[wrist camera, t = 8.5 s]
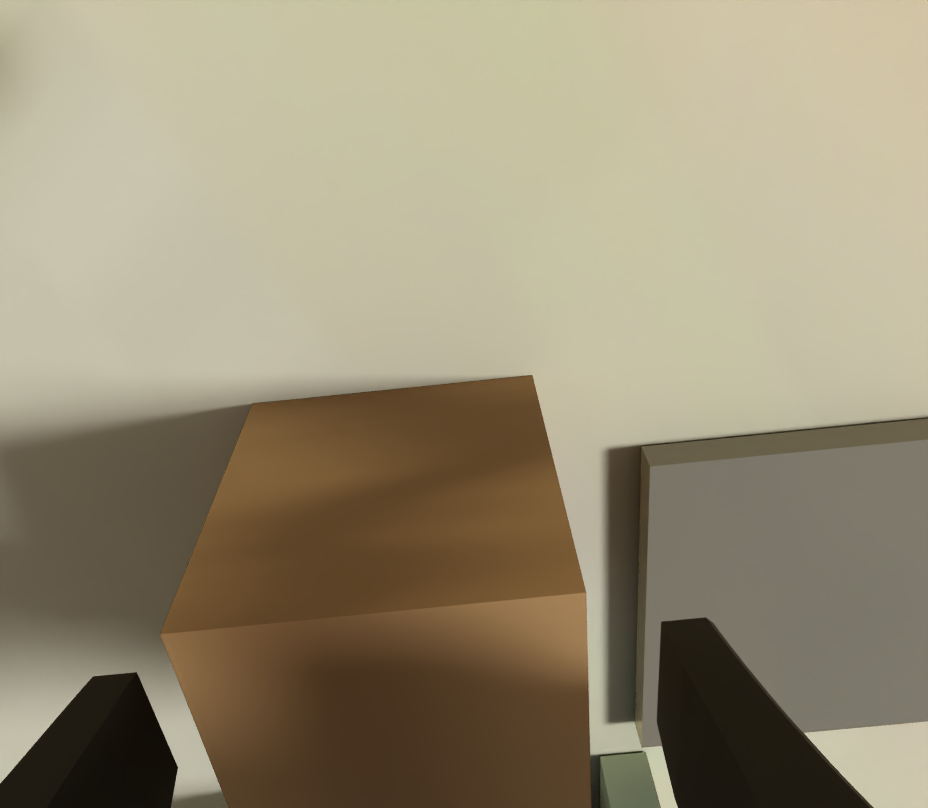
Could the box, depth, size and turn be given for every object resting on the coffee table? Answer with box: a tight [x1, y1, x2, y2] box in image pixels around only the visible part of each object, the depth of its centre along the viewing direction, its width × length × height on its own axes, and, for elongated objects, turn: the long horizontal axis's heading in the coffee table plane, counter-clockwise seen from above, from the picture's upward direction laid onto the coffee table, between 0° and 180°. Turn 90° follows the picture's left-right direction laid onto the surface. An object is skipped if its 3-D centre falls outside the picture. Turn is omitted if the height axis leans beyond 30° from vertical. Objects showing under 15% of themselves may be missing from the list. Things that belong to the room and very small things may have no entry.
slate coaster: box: [635, 419, 928, 748], centre depth 15 cm, size 7×7×1 cm
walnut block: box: [160, 375, 591, 808], centre depth 12 cm, size 4×4×5 cm
